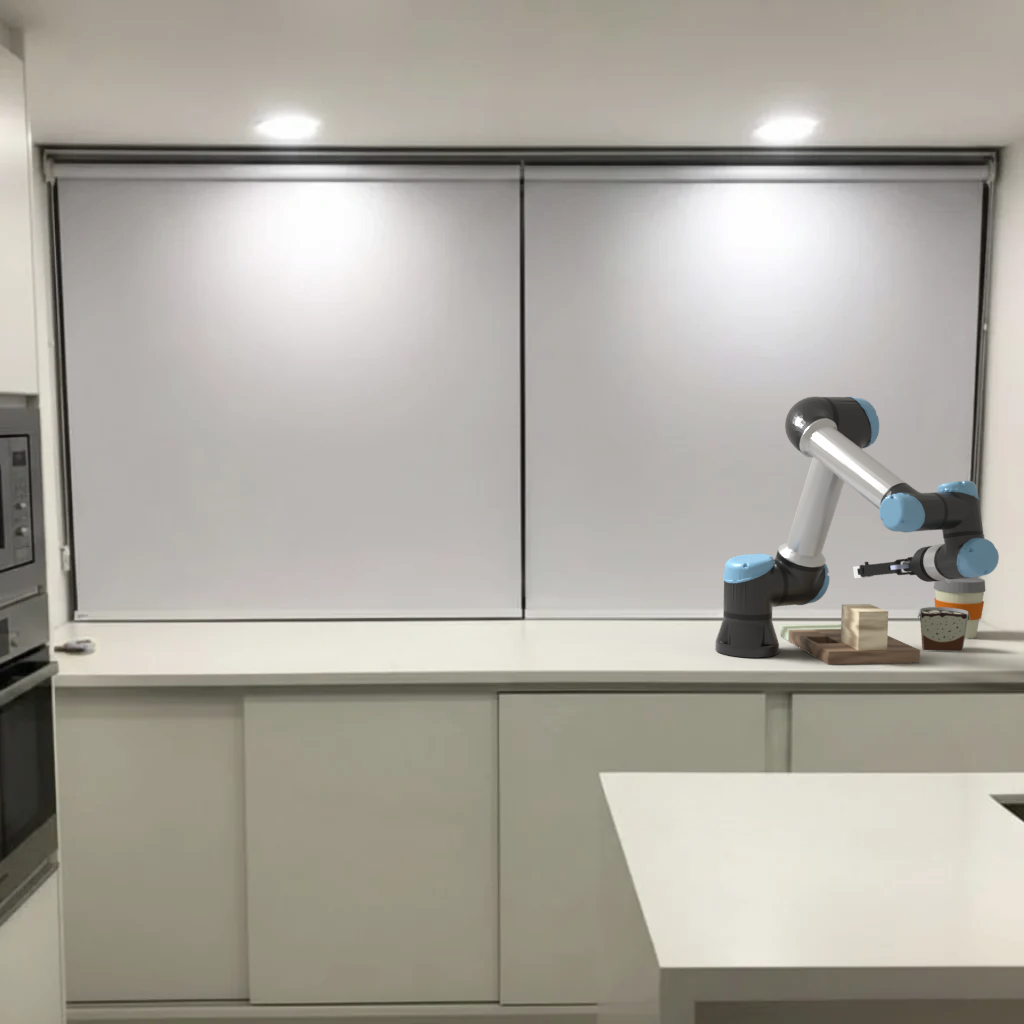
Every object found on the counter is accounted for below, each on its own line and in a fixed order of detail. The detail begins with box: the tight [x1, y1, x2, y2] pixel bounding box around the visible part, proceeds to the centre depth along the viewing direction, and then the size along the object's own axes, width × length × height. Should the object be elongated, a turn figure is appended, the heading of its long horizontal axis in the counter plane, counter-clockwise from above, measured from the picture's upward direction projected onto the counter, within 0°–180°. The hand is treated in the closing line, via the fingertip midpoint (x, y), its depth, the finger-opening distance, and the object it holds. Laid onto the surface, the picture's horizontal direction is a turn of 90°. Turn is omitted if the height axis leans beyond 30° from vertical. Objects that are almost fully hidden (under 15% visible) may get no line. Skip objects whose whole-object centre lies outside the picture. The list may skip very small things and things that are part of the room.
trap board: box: [780, 623, 921, 665], centre depth 260 cm, size 32×22×3 cm
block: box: [840, 603, 889, 650], centre depth 249 cm, size 10×7×9 cm
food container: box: [916, 606, 970, 652], centre depth 260 cm, size 12×6×10 cm, turn 84°
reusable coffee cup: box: [933, 577, 986, 639], centre depth 276 cm, size 12×13×15 cm
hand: (881, 570), depth 242 cm, fingers open, 13 cm apart
